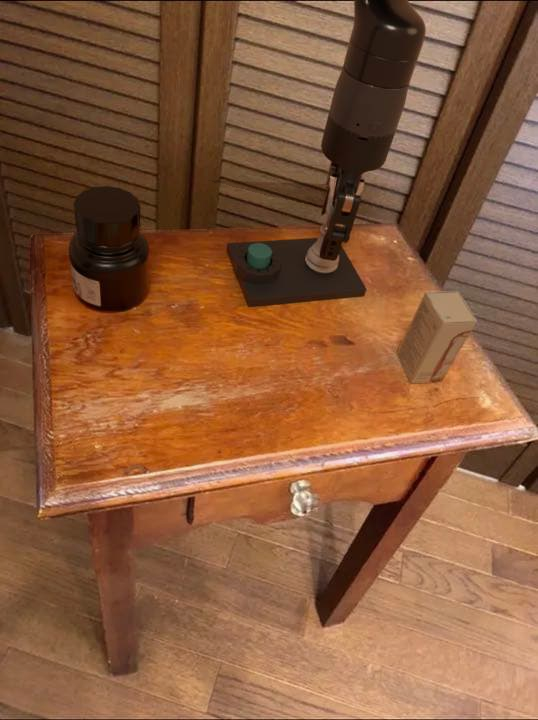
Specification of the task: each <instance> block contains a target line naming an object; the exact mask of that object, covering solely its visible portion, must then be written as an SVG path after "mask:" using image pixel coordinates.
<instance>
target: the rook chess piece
mask: <svg viewBox="0 0 538 720" xmlns="http://www.w3.org/2000/svg"><path fill="white" fill-rule="evenodd" d="M320 216H321V215H320ZM320 221H321V223H322V224H321V226H320V227H319V231H320V232H319V234H318V237H317V238H318V239H317V241H316V243H314V244H313V246H311V247H310V248H309V250H308V252H307V255H306V258H305V260H306V263H307V265H308V267H309V268H310V269H311V270H313V271H315V272H317V273H321V274H328V273H330V272H333V271H334V270H335V269H336V268H337V266H338V262H339V255H338V257H337V259H336V260H335V261H331V260H326V259H322V258H320V249H321V245H322V242H323V239H324V235H325V227H326V226H327V221H328V214H327V213H325V214H323V215H322V216H321V217H320ZM335 226H341V227H343V225H341V224H336V225H335Z"/></svg>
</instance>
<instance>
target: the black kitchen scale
mask: <svg viewBox="0 0 538 720" xmlns="http://www.w3.org/2000/svg"><path fill="white" fill-rule="evenodd" d="M317 239H318V237H309V238H294V239H291V238H290V239H276V240H275V239H273V240H259V241H258V240H257V241H256V240H255V241H241V242H239V241H238V242H227V245H226V255H227V256H228V259H229V262H230V264H231V266H232V269H233V272H234V274H235V277H236V279H237V282H238V284H239V287H240V290H241V292H242V295H243V297H244V298H243V299H244V300H245V303H246V305H247V307H248V308H258V307H268V306H278V305H280V306H281V305H289V304H290V305H291V304H301V303H311V302H321V301H332V300H343V299H352V298H362V297H365V295H366V293H367V287H366V285H365V283H364V282H363V281H362V280H363V279H361V276H360V275H359V274H358V271H357V269H356V268H355V267H354V264H353V263H352V261H351V260H350V258H349V256H348V254H347V252H346V251H345V249H344V247H343V245H341V248H340V251H339V254H338V255H339V262H338V266H337V268H336V269H335V270H334V271H333V272H330V273H328V274H321V273H317V272H315V271H313V270H311V269H310V268H309V267H308V265H307V263H306V260H305V258H306V255H307V252H308V250H309V248H310V247H311V246H313V244H314V243H316V241H317ZM254 243H262V244H265V245H267V246H269V247H270V248H271V250H272V255H271V260H270V264H269V266H268V267H266V268H260V269H259V268H255V267H252V266H250V265H249V264H248V263H247V254H248V248H249V246H250V245H252V244H254Z"/></svg>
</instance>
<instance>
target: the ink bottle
mask: <svg viewBox="0 0 538 720" xmlns="http://www.w3.org/2000/svg"><path fill="white" fill-rule="evenodd" d="M139 201H140V200H139V199H138V197H137V196H135V195H134V194H133V193H132V192H131V191H128V190H126V189H124V188H121V187H116V186H109V185H103V186H93V187H90V188H87V189H84V190H82V191H81V192H80V193H78V194H77V195H76V196H75V199H74V201H73V203H72V204H73V212H74V222H75V223H74V225H75V228H76V231H75V232H74V233H73V234H72V236H71V238H70V240H69V243H68V258H69V267H70V277H71V283H72V284H71V285H72V289H73V293H74V295H75V297H76V299H77V300H78V301H79V302H80V303H81V304H82V305H83V306H85V307H87V308H89V309H91V310H94V311H99V312H104V313H105V312H106V313H108V312H109V313H115V312H123V311H127V310H130V309H133V308H135V307H137V306H138V305H140V304H142V302H144V300H145V299H146V298H147V296H148V294H149V289H150V245H149V243H148V240H147V239H146V237H145V235H144V234H143V233H142V232H141V204H140V202H139Z"/></svg>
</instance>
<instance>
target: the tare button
mask: <svg viewBox="0 0 538 720" xmlns="http://www.w3.org/2000/svg"><path fill="white" fill-rule="evenodd" d="M271 255H272V250H271V248H270V247H269V246H267V245H265V244H262V243H254V244H252V245H250V246H249V248H248V254H247V263H248V264H249V265H250V266H252V267H255V268H259V269H260V268H266V267H268V266H269V264H270V260H271Z"/></svg>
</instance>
